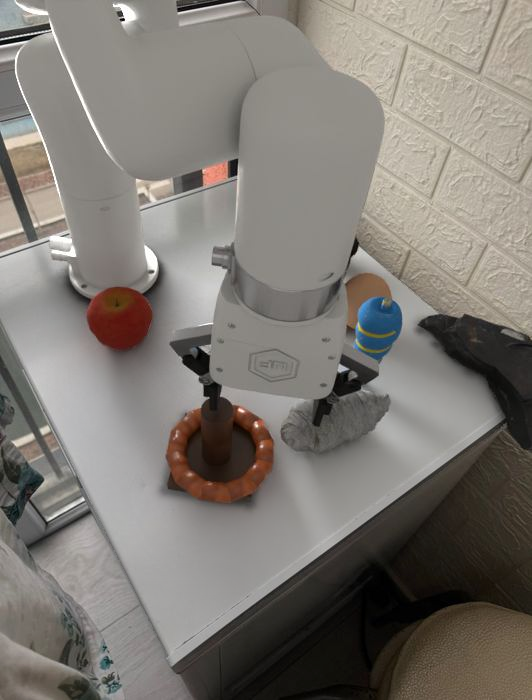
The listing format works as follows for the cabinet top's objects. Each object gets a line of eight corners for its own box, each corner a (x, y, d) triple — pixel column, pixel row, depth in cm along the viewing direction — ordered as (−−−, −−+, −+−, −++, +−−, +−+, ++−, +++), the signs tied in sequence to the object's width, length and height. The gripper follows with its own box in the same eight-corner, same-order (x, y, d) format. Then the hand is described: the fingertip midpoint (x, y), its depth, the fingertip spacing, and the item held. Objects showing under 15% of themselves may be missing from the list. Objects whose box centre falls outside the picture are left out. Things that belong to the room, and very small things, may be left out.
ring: (157, 498, 52) (156, 490, 51) (178, 404, 60) (177, 395, 58) (269, 510, 52) (270, 503, 51) (276, 415, 60) (277, 406, 58)
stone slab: (390, 342, 71) (401, 314, 68) (462, 311, 79) (475, 286, 76) (525, 459, 59) (547, 432, 55) (594, 408, 67) (616, 383, 64)
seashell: (408, 423, 59) (397, 384, 53) (307, 481, 59) (284, 448, 53) (380, 387, 63) (367, 347, 57) (286, 441, 63) (263, 406, 57)
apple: (166, 329, 68) (161, 288, 62) (132, 371, 64) (124, 330, 57) (117, 309, 70) (108, 266, 64) (81, 348, 65) (68, 306, 59)
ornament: (336, 391, 64) (363, 310, 53) (339, 360, 67) (365, 277, 56) (376, 398, 64) (413, 319, 52) (377, 367, 67) (412, 285, 56)
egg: (360, 297, 75) (375, 253, 69) (393, 329, 72) (412, 286, 65) (321, 315, 72) (332, 270, 66) (354, 350, 69) (369, 306, 62)
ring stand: (167, 489, 54) (159, 443, 46) (185, 418, 60) (181, 366, 52) (250, 501, 54) (256, 458, 46) (260, 429, 60) (268, 379, 52)
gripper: (148, 292, 32) (166, 426, 46) (417, 331, 32) (356, 455, 45) (175, 220, 37) (184, 361, 50) (410, 254, 37) (356, 387, 50)
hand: (266, 405), depth 48 cm, fingers open, 9 cm apart
